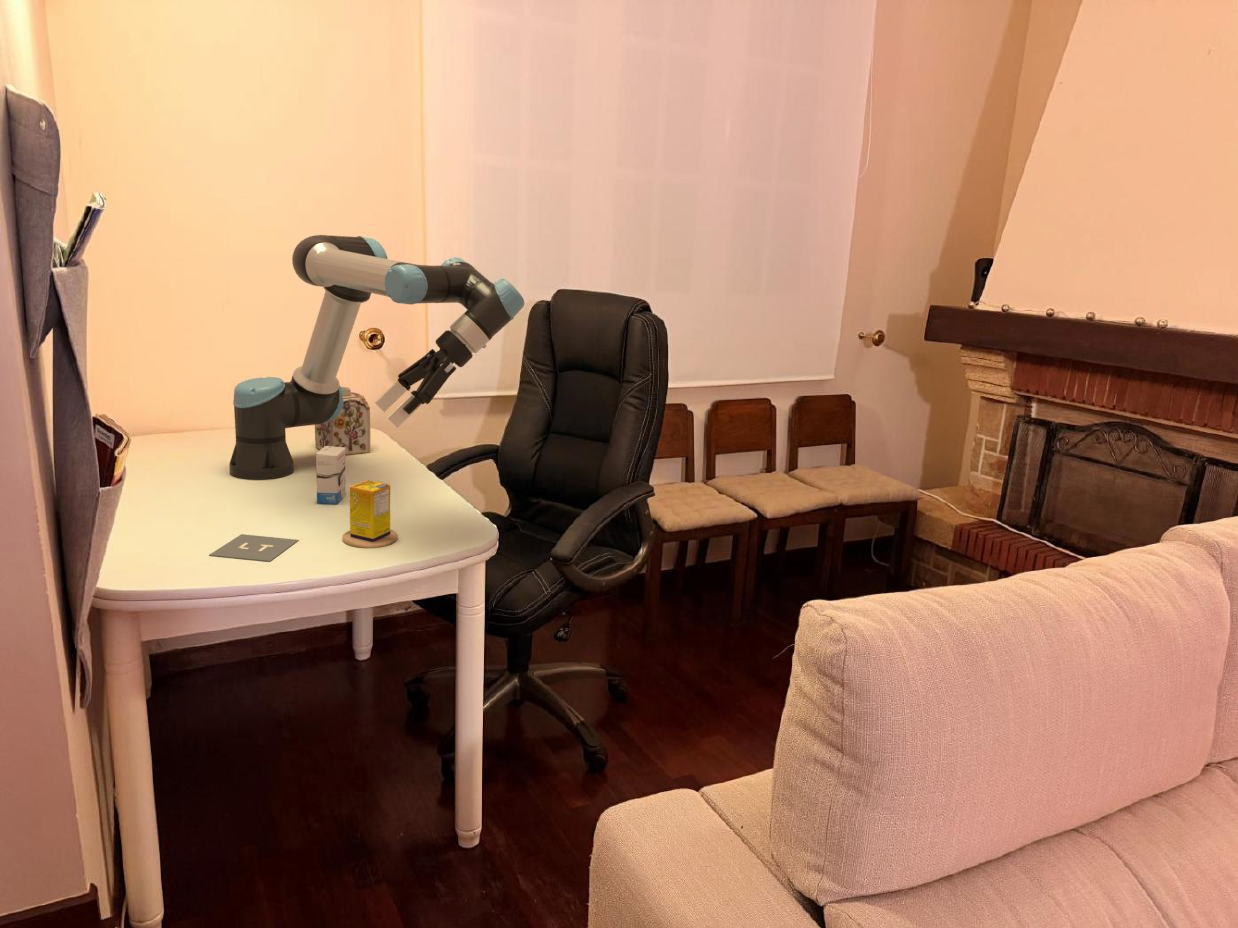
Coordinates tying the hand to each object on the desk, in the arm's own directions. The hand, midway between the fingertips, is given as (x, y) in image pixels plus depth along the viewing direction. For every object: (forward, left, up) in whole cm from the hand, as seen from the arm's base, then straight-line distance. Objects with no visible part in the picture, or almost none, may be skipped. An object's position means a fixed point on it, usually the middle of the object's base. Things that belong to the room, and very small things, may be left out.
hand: (385, 415), depth 174 cm
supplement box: (+2, -2, -26) cm, 26 cm away
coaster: (+2, -2, -26) cm, 26 cm away
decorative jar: (-64, -35, -26) cm, 78 cm away
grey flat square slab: (+13, -22, -26) cm, 36 cm away
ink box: (-21, -20, -26) cm, 39 cm away
